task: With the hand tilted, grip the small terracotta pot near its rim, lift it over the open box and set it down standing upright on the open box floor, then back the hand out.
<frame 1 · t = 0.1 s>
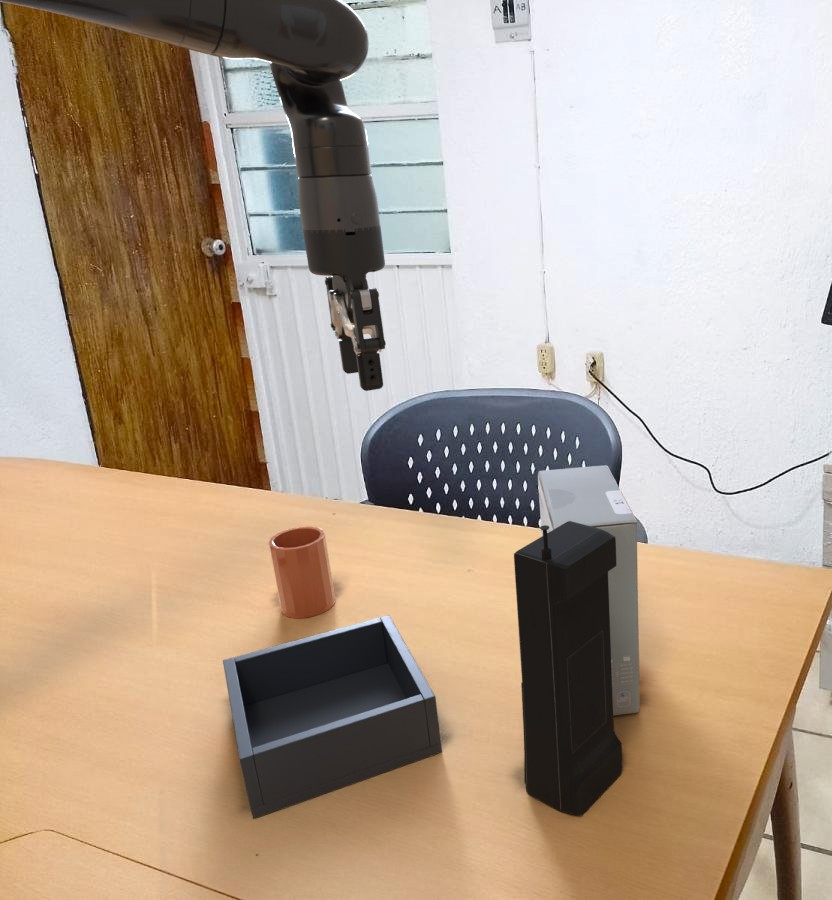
hand: (362, 380, 88), 28 cm above the table, tool pointing down, fingers open, 8 cm apart
open box: (333, 731, 78), on the table
portable radio: (576, 779, 71), on the table
pot: (308, 604, 100), on the table
hard drive box: (590, 674, 85), on the table
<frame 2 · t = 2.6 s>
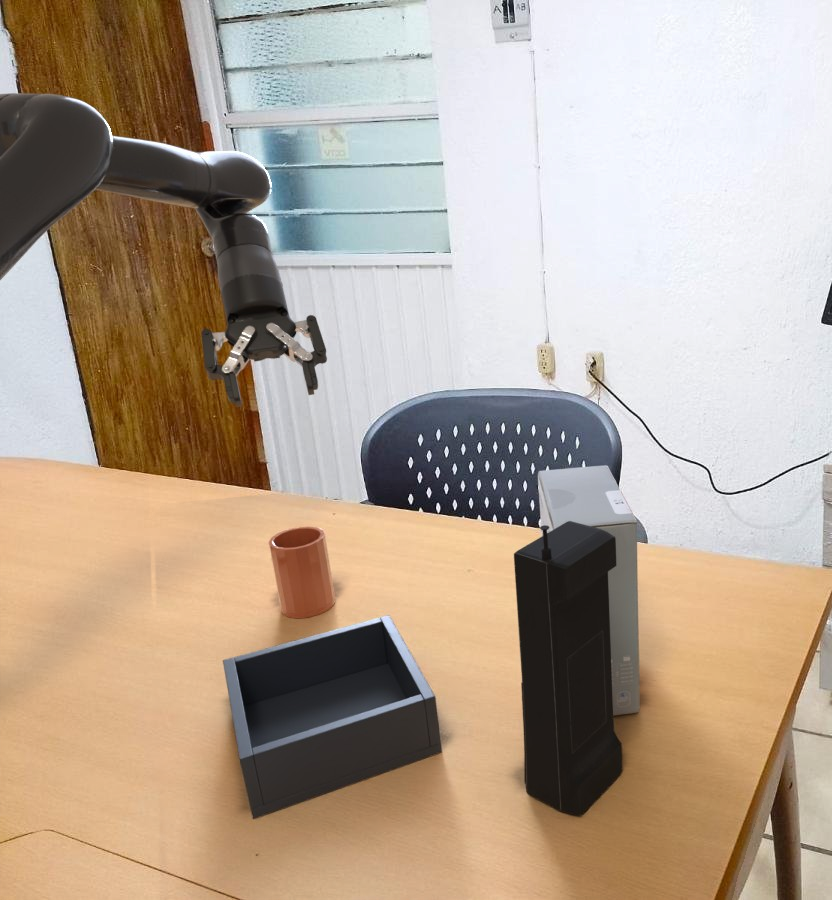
hand: (275, 397, 102), 23 cm above the table, tool tilted 40°, fingers open, 8 cm apart
nothing on the table moved.
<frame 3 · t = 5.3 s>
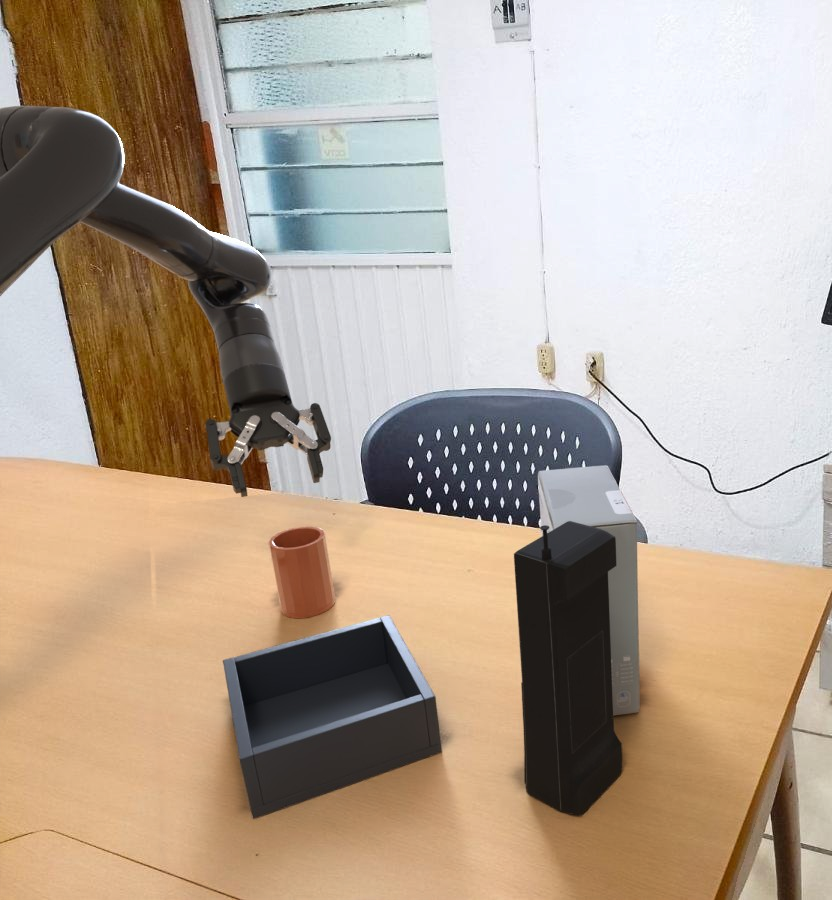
hand: (281, 487, 102), 13 cm above the table, tool tilted 45°, fingers open, 8 cm apart
nothing on the table moved.
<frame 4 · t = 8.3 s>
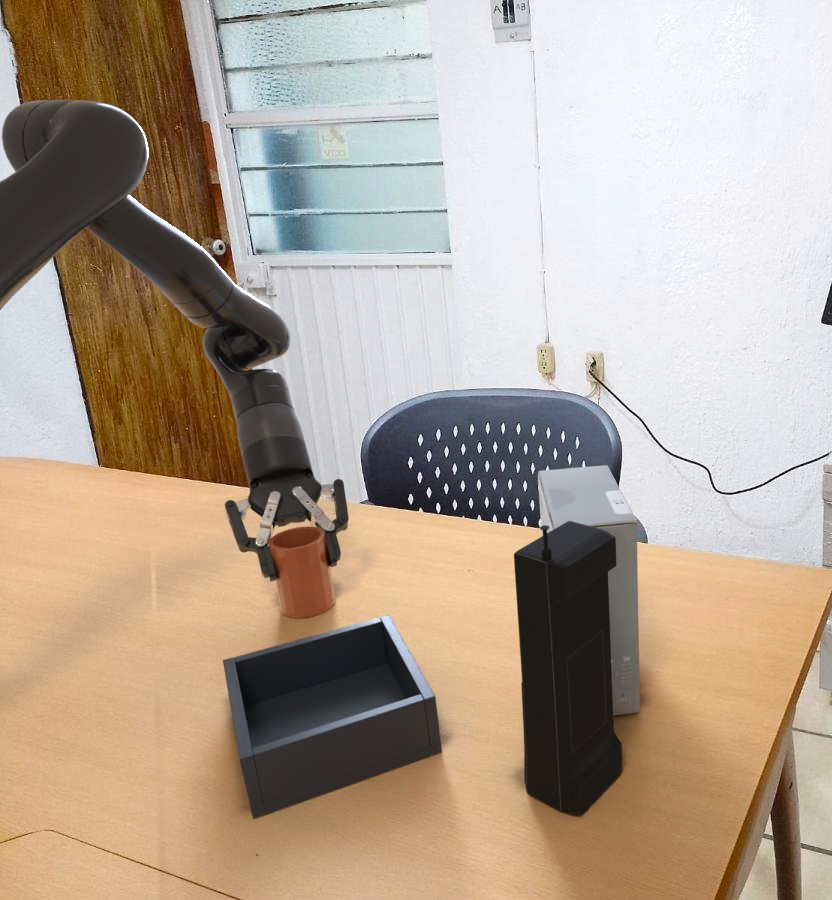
hand: (304, 571, 97), 5 cm above the table, tool tilted 45°, fingers closed on pot, 6 cm apart
pot: (308, 604, 100), on the table, touching gripper
everything else where it was.
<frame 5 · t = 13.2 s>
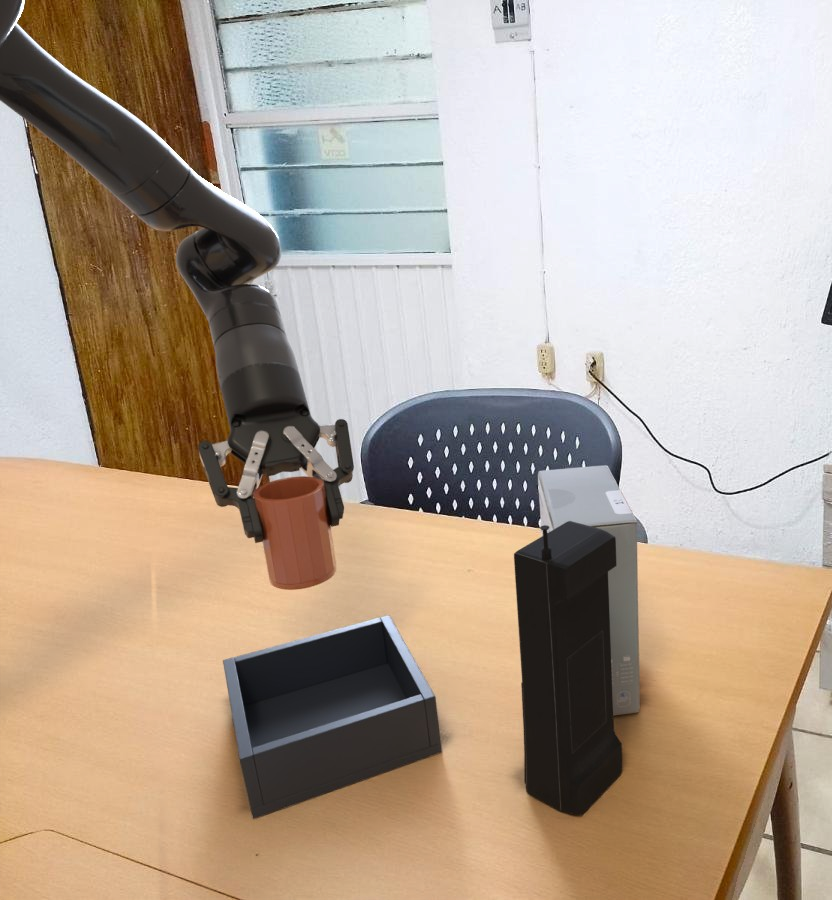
hand: (298, 530, 77), 18 cm above the table, tool tilted 45°, fingers closed on pot, 6 cm apart
pot: (303, 574, 80), point 13 cm above the table, touching gripper
everything else where it was.
when the fingers open (6 cm above the table, at t = 18.1 s): pot stays where it is, resting on open box.
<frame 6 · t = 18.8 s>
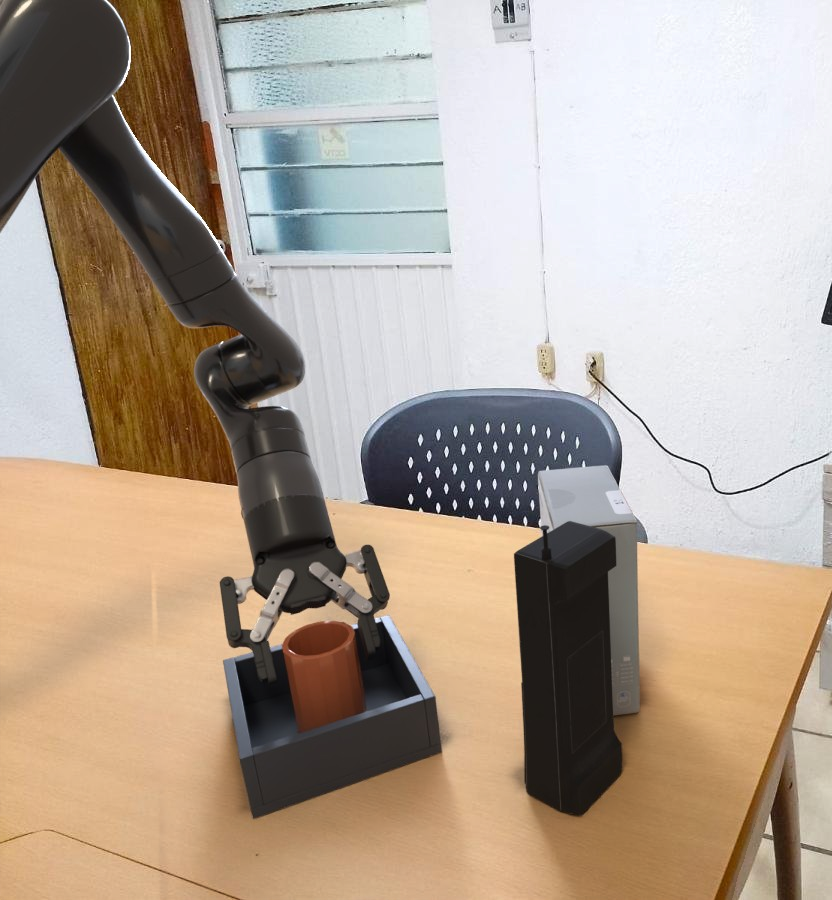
hand: (324, 670, 74), 7 cm above the table, tool tilted 45°, fingers open, 8 cm apart
pot: (333, 722, 77), point 1 cm above the table, touching open box
everything else where it was.
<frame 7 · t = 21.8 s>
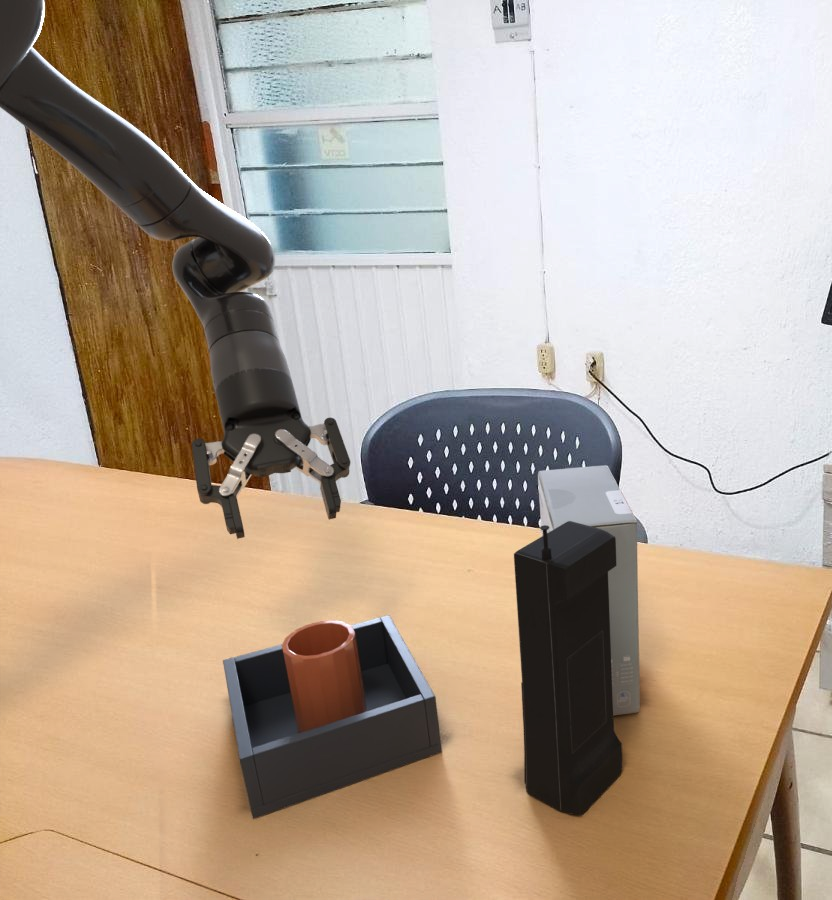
hand: (287, 525, 80), 17 cm above the table, tool tilted 45°, fingers open, 8 cm apart
nothing on the table moved.
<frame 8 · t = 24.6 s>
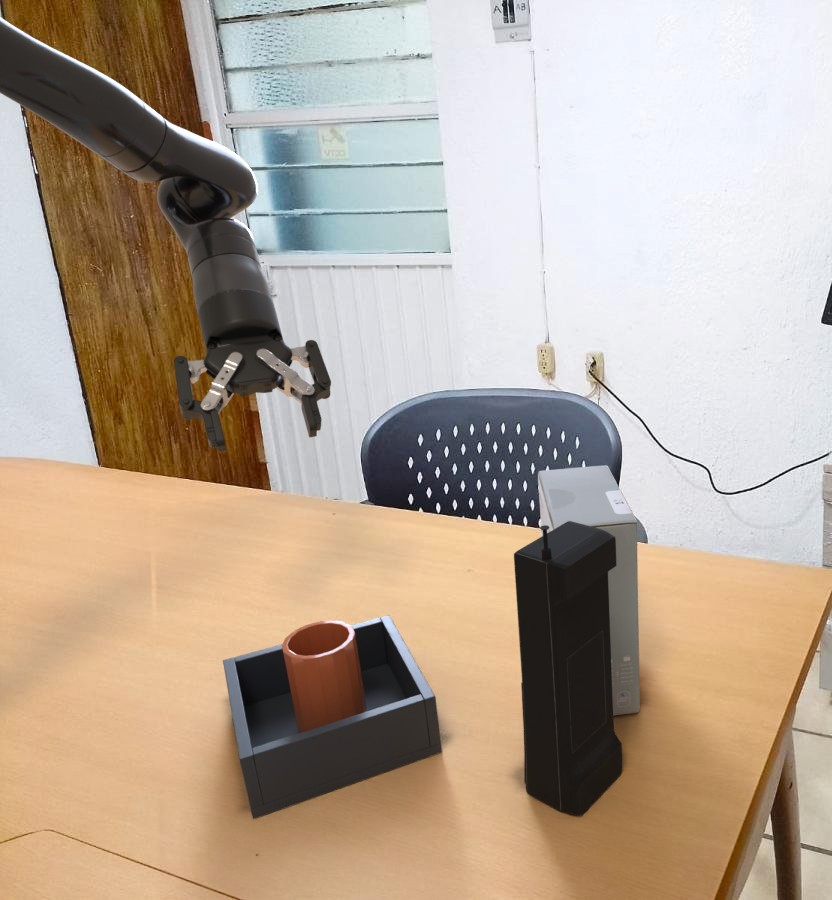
hand: (268, 440, 82), 25 cm above the table, tool tilted 45°, fingers open, 8 cm apart
nothing on the table moved.
at the end: pot inside the target area in the open box (0.1 cm from its centre), point 1.0 cm above the open box's base; pot tilted 0°; the gripper is holding nothing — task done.
